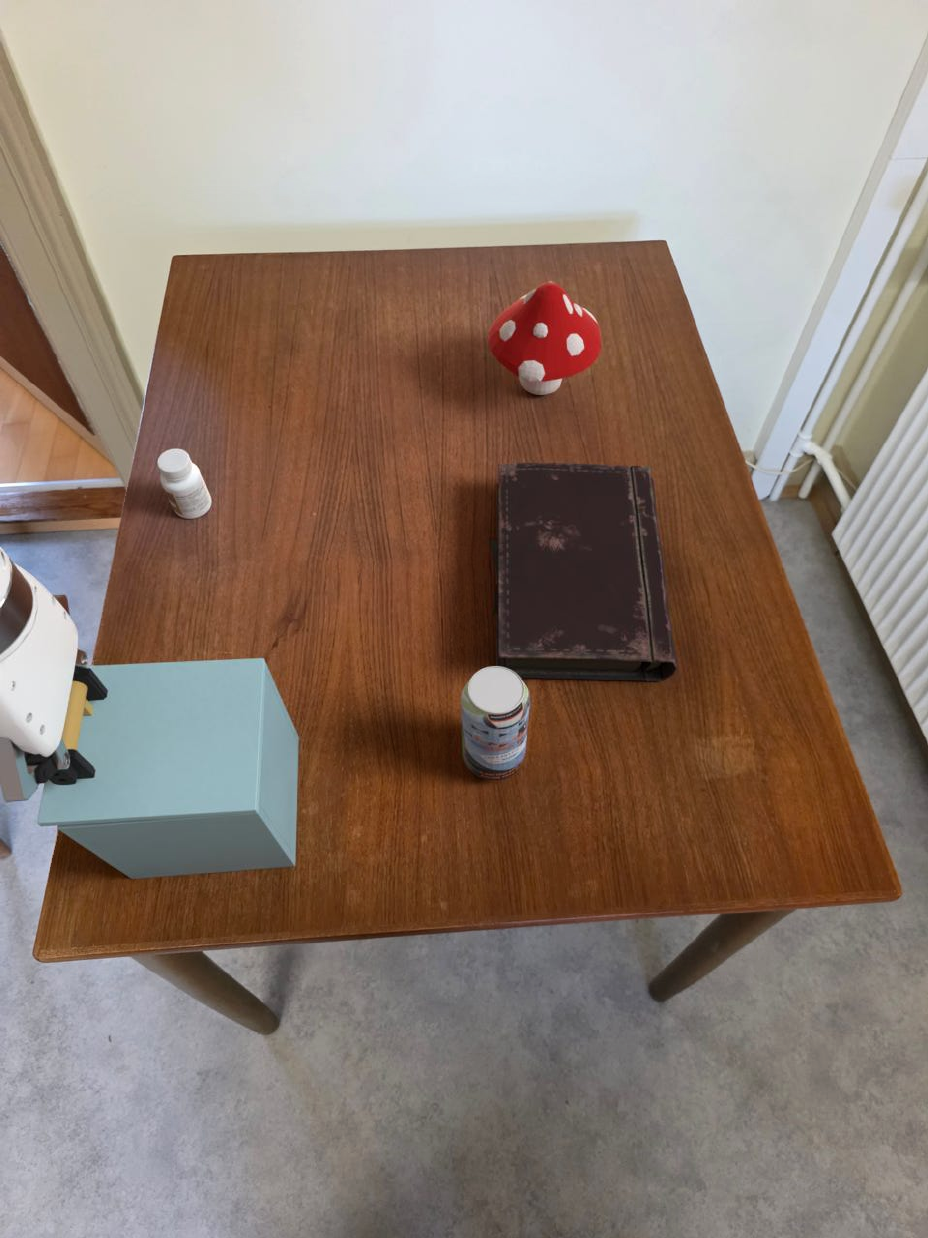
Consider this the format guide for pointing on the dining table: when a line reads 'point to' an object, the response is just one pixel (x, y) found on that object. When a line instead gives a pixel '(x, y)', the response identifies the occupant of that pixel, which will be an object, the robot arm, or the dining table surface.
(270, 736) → the chest
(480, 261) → the dining table surface
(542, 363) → the decorative mushroom
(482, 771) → the beverage can
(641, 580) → the diary
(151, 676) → the lid
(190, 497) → the pill bottle
